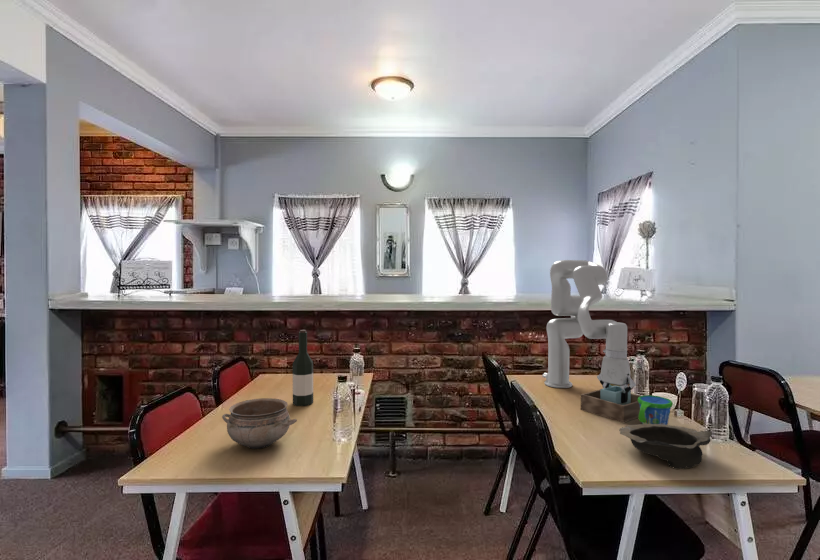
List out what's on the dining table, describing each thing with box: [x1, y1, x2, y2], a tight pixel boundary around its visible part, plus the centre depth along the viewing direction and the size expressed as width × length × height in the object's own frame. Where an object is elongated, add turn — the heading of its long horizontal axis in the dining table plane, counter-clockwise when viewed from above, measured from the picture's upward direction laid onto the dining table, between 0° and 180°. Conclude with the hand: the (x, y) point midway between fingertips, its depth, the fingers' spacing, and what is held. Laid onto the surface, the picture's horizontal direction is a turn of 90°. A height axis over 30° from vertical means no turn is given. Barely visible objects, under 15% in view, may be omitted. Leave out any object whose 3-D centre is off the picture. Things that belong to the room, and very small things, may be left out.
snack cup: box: [637, 395, 674, 425], centre depth 160 cm, size 16×10×10 cm
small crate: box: [599, 386, 632, 405], centre depth 178 cm, size 6×10×6 cm, turn 123°
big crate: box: [580, 389, 641, 423], centre depth 178 cm, size 18×18×6 cm
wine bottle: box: [292, 329, 314, 407], centre depth 187 cm, size 8×8×30 cm
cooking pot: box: [221, 397, 298, 450], centre depth 144 cm, size 25×19×12 cm
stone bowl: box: [618, 423, 713, 469], centre depth 137 cm, size 25×25×9 cm
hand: (615, 399), depth 178 cm, fingers closed on small crate, 6 cm apart
